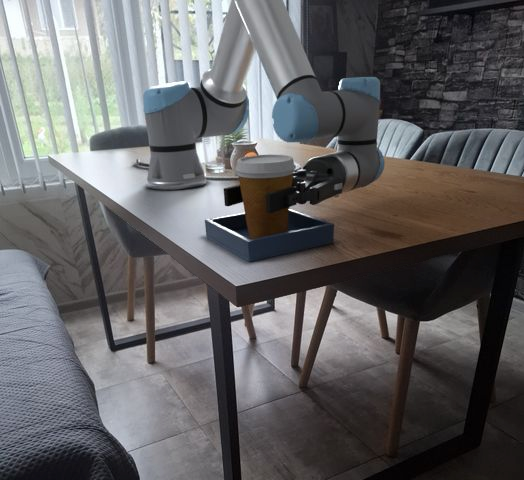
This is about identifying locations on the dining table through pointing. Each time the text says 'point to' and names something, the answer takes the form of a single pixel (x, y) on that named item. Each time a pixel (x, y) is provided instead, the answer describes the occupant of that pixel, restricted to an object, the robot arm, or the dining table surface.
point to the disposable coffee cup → (264, 191)
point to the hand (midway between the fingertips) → (246, 200)
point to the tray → (295, 239)
